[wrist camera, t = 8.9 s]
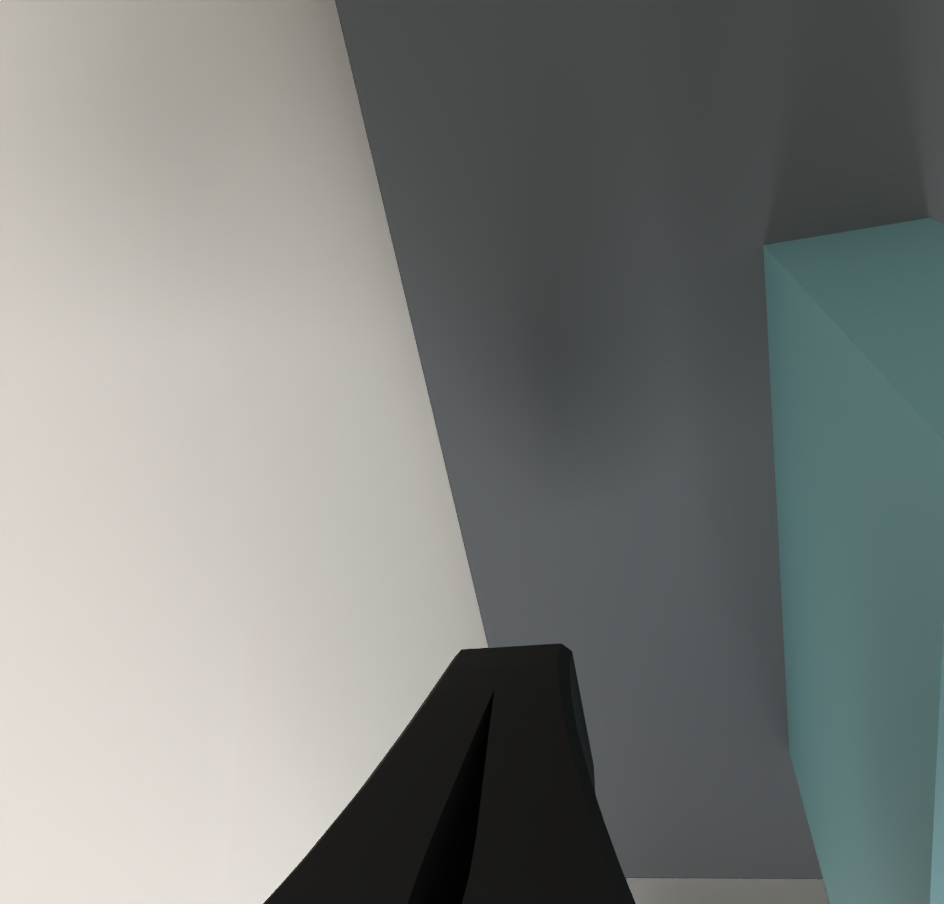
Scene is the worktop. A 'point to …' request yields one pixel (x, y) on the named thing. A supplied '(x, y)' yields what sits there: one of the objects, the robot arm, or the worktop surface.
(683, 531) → the mat
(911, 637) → the block
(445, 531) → the worktop surface
